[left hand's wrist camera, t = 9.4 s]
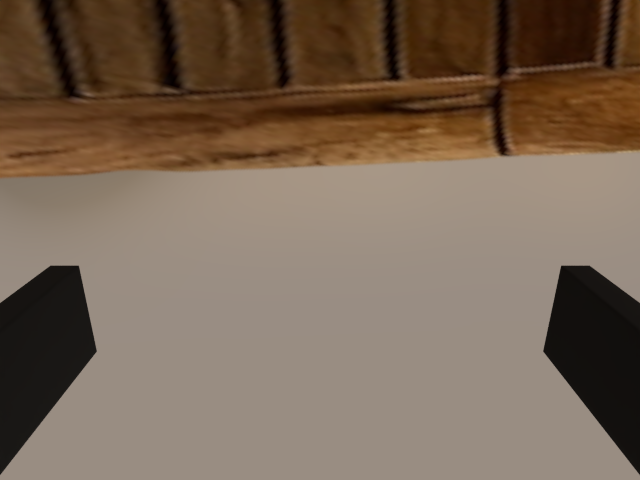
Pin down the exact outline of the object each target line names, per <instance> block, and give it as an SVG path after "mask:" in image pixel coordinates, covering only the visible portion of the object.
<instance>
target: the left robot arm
mask: <svg viewBox="0 0 640 480" xmlns="http://www.w3.org/2000/svg"><path fill="white" fill-rule="evenodd" d="M96 352H97V350H96V346H95V341H94V336H93V331H92V327H91V322H90V317H89V312H88V307H87V303H86V298H85V293H84V288H83V284H82V279H81V274H80V269H79V266H50V267H48V268H47V269H46V270H44V271H43V272H41V273H40V274H39V275H37V276H36V277H35V278H33V279H32V280H31V281H29V282H28V283H27V284H25V285H24V286H23V287H21V288H20V289H19V290H17V291H16V292H15V293H13V294H12V295H10V296H9V297H8V298H6V299H5V300H4V301H2V302H1V303H0V474H1V473H2V472H3V471H4V469H5V468H6V467H7V465H8V464H9V463H10V462H11V460H12V459H13V458H14V457H15V455H16V454H17V453H18V451H19V450H20V449H21V448H22V446H23V445H24V444H25V442H26V441H27V440H28V438H29V437H30V436H31V435H32V433H33V432H34V431H35V430H36V428H37V427H38V426H39V425H40V423H41V422H42V421H43V419H44V418H45V417H46V416H47V414H48V413H49V412H50V410H51V409H52V408H53V407H54V405H55V404H56V403H57V402H58V400H59V399H60V398H61V396H62V395H63V394H64V392H65V391H66V390H67V389H68V387H69V386H70V385H71V384H72V382H73V381H74V380H75V379H76V377H77V376H78V375H79V373H80V372H81V371H82V370H83V368H84V367H85V366H86V364H87V363H88V362H89V361H90V359H91V358H92V357H93V355H94V354H95V353H96ZM543 352H544V353H545V354H546V355H547V357H548V358H549V359H550V361H551V362H552V363H553V364H554V366H555V367H556V368H557V369H558V371H559V372H560V373H561V375H562V376H563V377H564V379H565V380H566V381H567V382H568V384H569V385H570V386H571V387H572V389H573V390H574V391H575V393H576V394H577V395H578V396H579V398H580V399H581V400H582V401H583V403H584V404H585V405H586V407H587V408H588V409H589V410H590V412H591V413H592V414H593V416H594V417H595V418H596V419H597V421H598V422H599V423H600V425H601V426H602V427H603V428H604V430H605V431H606V432H607V433H608V435H609V436H610V437H611V439H612V440H613V441H614V442H615V444H616V445H617V446H618V448H619V449H620V450H621V451H622V453H623V454H624V455H625V457H626V458H627V459H628V460H629V462H630V463H631V464H632V465H633V467H634V468H635V469H636V470H637V472H638V473H639V474H640V303H639V302H638V301H636V300H635V299H634V298H632V297H631V296H630V295H628V294H627V293H625V292H624V291H623V290H621V289H620V288H619V287H617V286H616V285H615V284H613V283H612V282H611V281H609V280H608V279H607V278H605V277H604V276H603V275H601V274H600V273H599V272H597V271H596V270H594V269H593V268H592V267H590V266H561V269H560V274H559V279H558V284H557V289H556V293H555V298H554V303H553V308H552V312H551V317H550V322H549V327H548V331H547V336H546V341H545V346H544V350H543Z"/></svg>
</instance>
